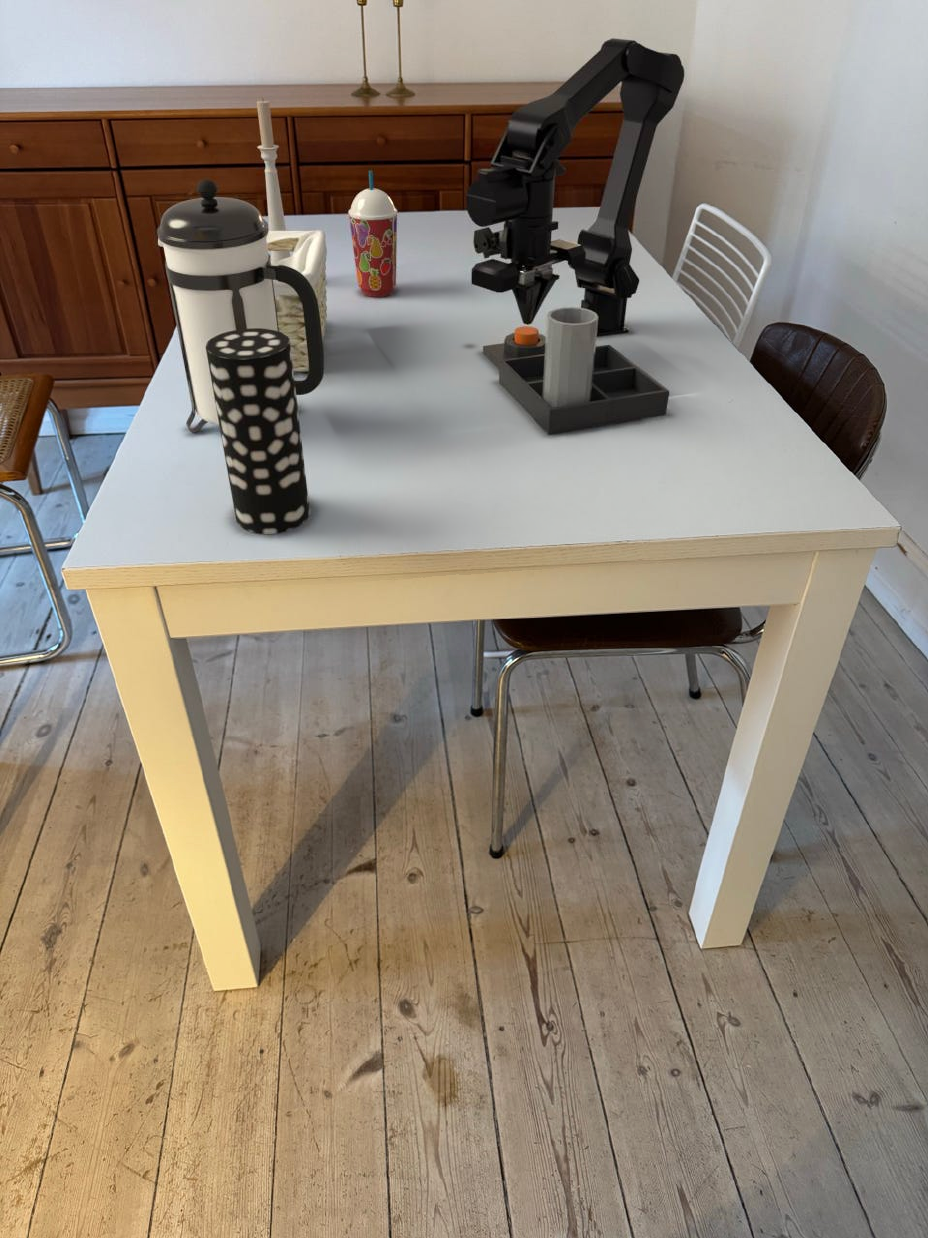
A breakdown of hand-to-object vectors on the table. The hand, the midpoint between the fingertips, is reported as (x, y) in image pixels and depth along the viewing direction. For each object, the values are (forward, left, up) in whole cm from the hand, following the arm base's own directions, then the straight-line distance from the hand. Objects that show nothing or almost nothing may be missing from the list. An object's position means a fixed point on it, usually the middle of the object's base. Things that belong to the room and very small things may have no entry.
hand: (527, 323), depth 137 cm
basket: (+35, -17, -6) cm, 39 cm away
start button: (0, 0, -3) cm, 3 cm away
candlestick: (+28, -48, -6) cm, 55 cm away
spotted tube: (+45, +32, -6) cm, 56 cm away
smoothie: (+13, -38, -6) cm, 40 cm away
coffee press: (+43, +7, -6) cm, 44 cm away
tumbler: (+3, +20, -5) cm, 21 cm away
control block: (0, 0, -5) cm, 5 cm away
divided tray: (-1, +16, -5) cm, 17 cm away
